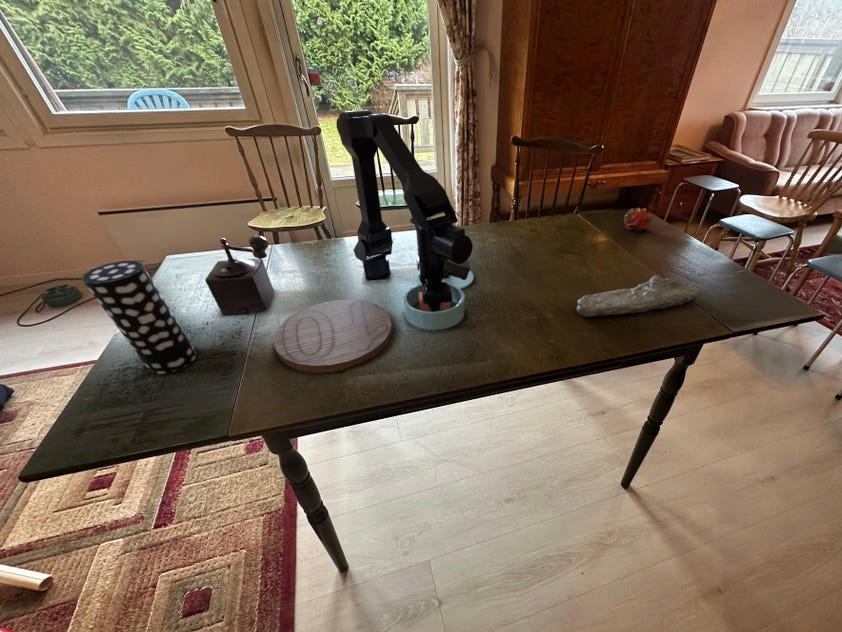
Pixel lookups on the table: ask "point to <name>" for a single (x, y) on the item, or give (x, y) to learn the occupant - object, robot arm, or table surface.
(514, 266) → the table surface
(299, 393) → the table surface
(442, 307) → the orange rectangular block
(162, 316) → the spotted tube
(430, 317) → the pot
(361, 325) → the trivet
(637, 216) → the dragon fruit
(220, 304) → the manual coffee grinder
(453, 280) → the lid
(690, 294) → the long grey stone
